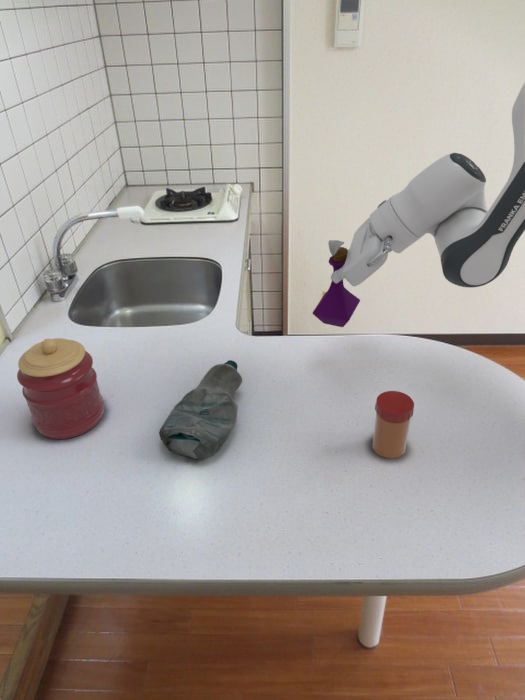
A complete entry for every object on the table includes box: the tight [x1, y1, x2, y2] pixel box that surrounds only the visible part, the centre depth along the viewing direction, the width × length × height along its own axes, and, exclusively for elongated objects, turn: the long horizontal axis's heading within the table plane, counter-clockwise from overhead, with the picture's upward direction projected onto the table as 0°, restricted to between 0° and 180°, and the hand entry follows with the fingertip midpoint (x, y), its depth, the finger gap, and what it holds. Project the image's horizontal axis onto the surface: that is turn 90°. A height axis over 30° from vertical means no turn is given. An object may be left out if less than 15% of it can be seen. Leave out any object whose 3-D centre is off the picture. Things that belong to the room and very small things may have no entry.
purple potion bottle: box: [312, 239, 361, 328], centre depth 100 cm, size 8×8×18 cm
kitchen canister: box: [16, 337, 105, 440], centre depth 96 cm, size 13×13×18 cm
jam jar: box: [371, 412, 412, 460], centre depth 89 cm, size 6×6×10 cm
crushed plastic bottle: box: [158, 359, 243, 460], centre depth 97 cm, size 13×7×25 cm
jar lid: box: [374, 390, 415, 423], centre depth 86 cm, size 6×6×2 cm
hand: (335, 273), depth 101 cm, fingers closed on purple potion bottle, 4 cm apart
